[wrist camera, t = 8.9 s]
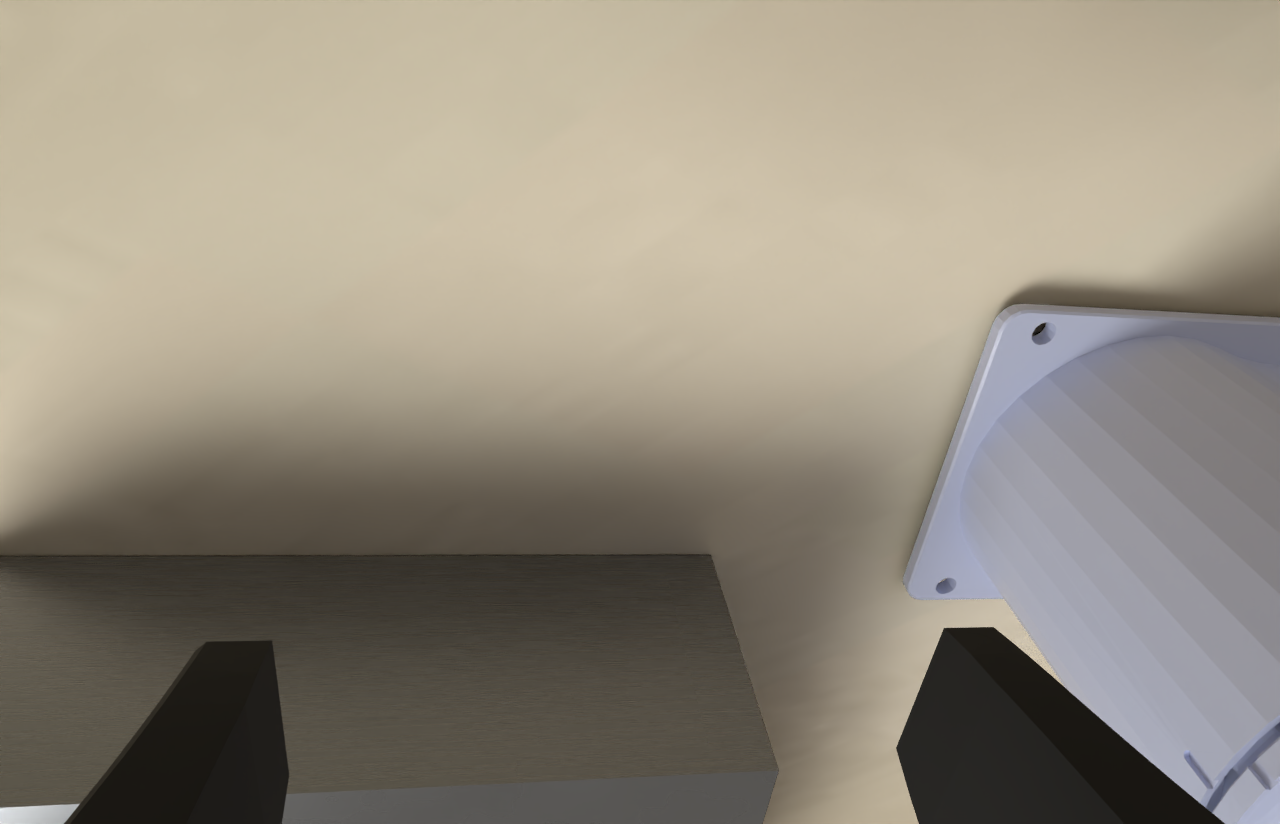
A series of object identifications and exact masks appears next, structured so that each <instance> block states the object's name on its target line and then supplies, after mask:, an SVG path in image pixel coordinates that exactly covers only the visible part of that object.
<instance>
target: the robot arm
mask: <svg viewBox="0 0 1280 824" xmlns="http://www.w3.org/2000/svg"><path fill="white" fill-rule="evenodd" d="M1042 323H1046V326H1045V328H1044V329H1043V331H1042V332H1040V333H1039V334H1037V335H1036V336H1032V333H1033V331H1034V330H1035V328H1036V327H1037V326H1039V325H1040V324H1042ZM946 578H947V579H946ZM943 579H946V580H944V581H943V582H940V581H941V580H943ZM939 582H940V583H939ZM903 584H904V586H905V588H906V590H907V592H908V593H909V595H910V596H911V597H913V598H914V599H919V600H944V599H1004V600H1005V601H1006V603H1007V604H1008V605H1009V607H1010V608H1011V610H1012V611H1013V613H1014V614H1015V616H1016V617H1017V618H1018V620H1019V621H1020V623H1021V624H1022V626H1023V627H1024V629H1025V630H1026V631H1027V633H1028V634H1029V636H1030V637H1031V639H1032V640H1033V642H1034V643H1035V644H1036V646H1037V647H1038V649H1039V650H1040V652H1041V653H1042V655H1043V656H1044V657H1045V659H1046V660H1047V662H1048V663H1049V665H1050V666H1051V668H1052V669H1053V671H1054V672H1055V673H1056V675H1057V676H1058V678H1059V679H1060V681H1061V682H1062V684H1063V685H1064V686H1065V687H1064V686H1062V685H1061V684H1060V683H1059V682H1058V681H1057V680H1056V679H1054V678H1053V677H1052V676H1051V675H1050V674H1049V673H1047V672H1046V671H1045V670H1044V669H1043V668H1042V667H1041V666H1039V665H1038V664H1037V663H1036V662H1035V661H1034V660H1032V659H1031V658H1030V657H1029V656H1028V655H1027V654H1025V653H1024V652H1023V651H1022V650H1021V649H1019V648H1018V647H1017V646H1016V645H1015V644H1013V643H1012V642H1011V641H1010V640H1009V639H1007V638H1006V637H1005V636H1004V635H1002V634H1001V633H1000V632H999V631H997V630H996V629H995V628H994V627H980V628H944V630H943V632H942V635H941V637H940V640H939V642H938V645H937V647H936V650H935V652H934V655H933V657H932V660H931V662H930V665H929V667H928V670H927V672H926V675H925V677H924V680H923V682H922V685H921V687H920V690H919V692H918V695H917V697H916V700H915V702H914V705H913V707H912V710H911V712H910V715H909V717H908V720H907V722H906V725H905V727H904V730H903V732H902V735H901V737H900V740H899V742H898V745H897V747H896V749H897V752H898V756H899V759H900V763H901V766H902V770H903V773H904V777H905V780H906V784H907V787H908V790H909V794H910V797H911V800H912V804H913V807H914V810H915V813H916V816H917V819H918V822H919V824H1280V318H1279V317H1260V316H1242V315H1223V314H1205V313H1186V312H1168V311H1149V310H1131V309H1112V308H1094V307H1075V306H1056V305H1038V304H1016V305H1012V306H1010V307H1008V308H1006V309H1004V310H1003V311H1002V312H1001V313H1000V314H999V315H998V316H997V317H996V319H995V321H994V322H993V324H992V327H991V330H990V333H989V335H988V338H987V341H986V344H985V347H984V350H983V352H982V355H981V358H980V361H979V364H978V367H977V369H976V372H975V375H974V378H973V381H972V384H971V386H970V389H969V392H968V395H967V398H966V401H965V403H964V406H963V409H962V412H961V415H960V418H959V420H958V423H957V426H956V429H955V432H954V435H953V437H952V440H951V443H950V446H949V449H948V452H947V454H946V457H945V460H944V463H943V466H942V469H941V471H940V474H939V477H938V480H937V483H936V486H935V488H934V491H933V494H932V497H931V500H930V503H929V505H928V508H927V511H926V514H925V517H924V520H923V522H922V525H921V528H920V531H919V534H918V537H917V539H916V542H915V545H914V548H913V551H912V554H911V556H910V559H909V562H908V565H907V568H906V571H905V573H904V576H903ZM288 780H289V768H288V761H287V753H286V745H285V737H284V729H283V721H282V713H281V706H280V698H279V690H278V682H277V674H276V666H275V658H274V651H273V643H272V640H269V641H214V642H205V643H204V644H203V645H202V646H200V647H199V648H198V649H197V650H195V652H194V653H193V655H192V656H191V658H190V659H189V661H188V662H187V663H186V665H185V666H184V668H183V669H182V671H181V672H180V673H179V675H178V676H177V678H176V679H175V680H174V682H173V683H172V685H171V686H170V687H169V689H168V690H167V691H166V693H165V694H164V696H163V697H162V698H161V700H160V701H159V703H158V704H157V705H156V707H155V708H154V709H153V711H152V712H151V713H150V715H149V716H148V717H147V719H146V720H145V721H144V723H143V724H142V725H141V727H140V728H139V729H138V731H137V732H136V733H135V735H134V736H133V737H132V739H131V740H130V741H129V743H128V744H127V745H126V746H125V748H124V749H123V750H122V752H121V753H120V754H119V756H118V757H117V758H116V759H115V761H114V762H113V763H112V765H111V766H110V767H109V769H108V770H107V771H106V772H105V774H104V775H103V776H102V777H101V779H100V780H99V781H98V782H97V784H96V785H95V786H94V787H93V788H92V790H91V791H90V792H89V793H88V795H87V796H86V797H85V798H84V800H83V801H82V802H81V803H80V805H79V806H78V807H77V808H76V809H75V811H74V812H73V813H72V814H71V816H70V817H69V818H68V819H67V821H66V822H65V823H64V824H282V819H283V813H284V806H285V800H286V793H287V787H288Z"/></svg>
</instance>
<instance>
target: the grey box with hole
mask: <svg viewBox="0 0 1280 824" xmlns="http://www.w3.org/2000/svg"><path fill="white" fill-rule="evenodd" d="M269 640H272V643H273V651H274V658H275V666H276V674H277V682H278V690H279V698H280V706H281V713H282V721H283V729H284V737H285V745H286V753H287V761H288V768H289V780H288V787H287V793H286V800H285V806H284V813H283V819H282V824H763V821H764V817H765V814H766V811H767V807H768V804H769V801H770V797H771V794H772V791H773V788H774V784H775V781H776V778H777V774H778V771H779V770H778V767H777V764H776V760H775V757H774V754H773V751H772V748H771V744H770V741H769V738H768V735H767V732H766V729H765V725H764V722H763V719H762V716H761V713H760V710H759V706H758V703H757V700H756V697H755V694H754V691H753V687H752V684H751V681H750V678H749V675H748V672H747V668H746V665H745V662H744V659H743V656H742V653H741V649H740V646H739V643H738V640H737V637H736V634H735V630H734V627H733V624H732V621H731V618H730V615H729V611H728V608H727V605H726V602H725V599H724V596H723V592H722V589H721V586H720V583H719V580H718V577H717V573H716V570H715V567H714V564H713V561H712V558H711V555H542V556H70V557H0V824H64V823H65V822H66V821H67V819H68V818H69V817H70V816H71V814H72V813H73V812H74V811H75V809H76V808H77V807H78V806H79V805H80V803H81V802H82V801H83V800H84V798H85V797H86V796H87V795H88V793H89V792H90V791H91V790H92V788H93V787H94V786H95V785H96V784H97V782H98V781H99V780H100V779H101V777H102V776H103V775H104V774H105V772H106V771H107V770H108V769H109V767H110V766H111V765H112V763H113V762H114V761H115V759H116V758H117V757H118V756H119V754H120V753H121V752H122V750H123V749H124V748H125V746H126V745H127V744H128V743H129V741H130V740H131V739H132V737H133V736H134V735H135V733H136V732H137V731H138V729H139V728H140V727H141V725H142V724H143V723H144V721H145V720H146V719H147V717H148V716H149V715H150V713H151V712H152V711H153V709H154V708H155V707H156V705H157V704H158V703H159V701H160V700H161V698H162V697H163V696H164V694H165V693H166V691H167V690H168V689H169V687H170V686H171V685H172V683H173V682H174V680H175V679H176V678H177V676H178V675H179V673H180V672H181V671H182V669H183V668H184V666H185V665H186V663H187V662H188V661H189V659H190V658H191V656H192V655H193V653H194V652H195V650H197V649H198V648H199V647H200V646H202V645H203V644H204V643H205V642H214V641H269Z"/></svg>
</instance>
